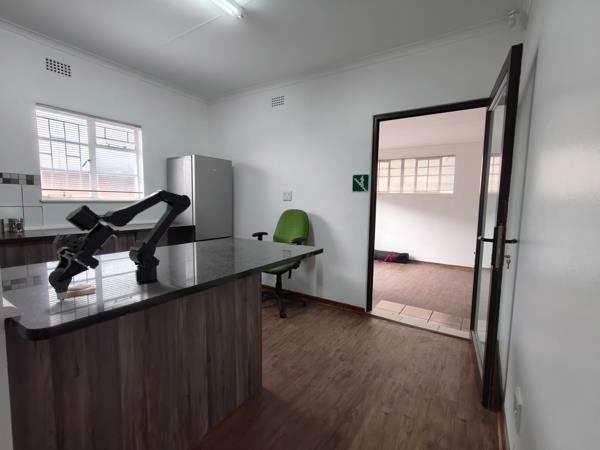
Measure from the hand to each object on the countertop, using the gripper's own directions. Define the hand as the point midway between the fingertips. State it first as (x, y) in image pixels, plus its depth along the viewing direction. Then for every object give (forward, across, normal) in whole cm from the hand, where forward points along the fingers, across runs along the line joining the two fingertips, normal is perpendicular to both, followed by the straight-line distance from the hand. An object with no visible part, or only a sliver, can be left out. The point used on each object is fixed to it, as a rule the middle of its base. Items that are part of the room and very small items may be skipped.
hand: (54, 280), depth 84 cm
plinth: (0, -7, +10) cm, 12 cm away
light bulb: (+4, 0, +6) cm, 7 cm away
